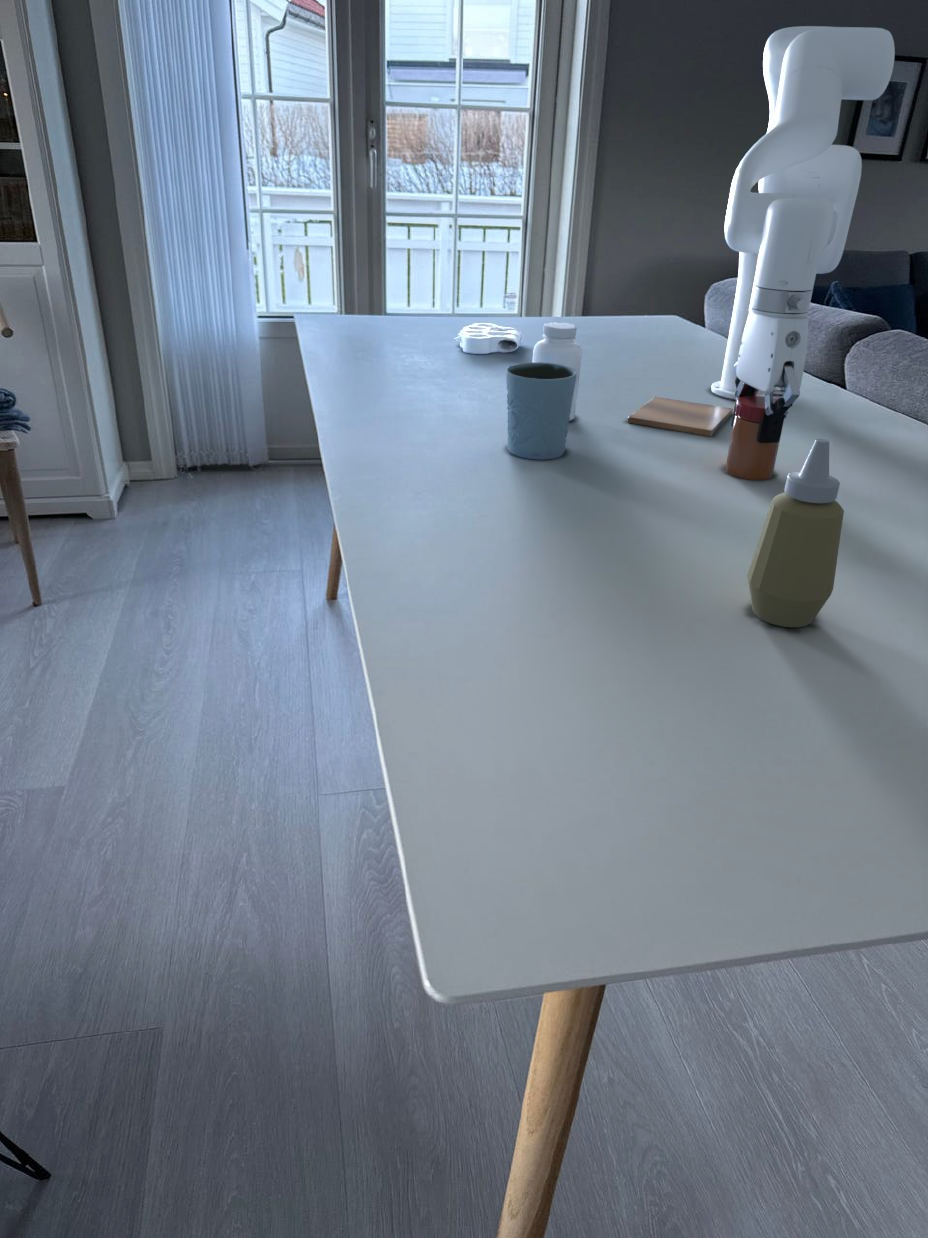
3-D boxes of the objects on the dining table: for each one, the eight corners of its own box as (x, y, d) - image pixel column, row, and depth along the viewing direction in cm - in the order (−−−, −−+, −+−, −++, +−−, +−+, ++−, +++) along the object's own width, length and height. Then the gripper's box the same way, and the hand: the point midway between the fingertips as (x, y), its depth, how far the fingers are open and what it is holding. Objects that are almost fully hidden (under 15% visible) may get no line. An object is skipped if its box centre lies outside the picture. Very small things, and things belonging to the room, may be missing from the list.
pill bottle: (573, 425, 148) (582, 331, 141) (524, 420, 149) (531, 327, 142) (577, 412, 155) (586, 322, 148) (531, 408, 156) (538, 318, 149)
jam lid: (749, 422, 122) (752, 409, 121) (725, 408, 128) (727, 396, 127) (795, 421, 124) (798, 408, 123) (769, 407, 130) (772, 395, 129)
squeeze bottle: (729, 597, 93) (762, 426, 85) (804, 596, 94) (844, 427, 86) (758, 635, 86) (798, 453, 78) (838, 634, 87) (887, 454, 78)
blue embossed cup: (575, 446, 138) (583, 366, 132) (560, 465, 129) (567, 381, 124) (512, 437, 140) (517, 359, 135) (493, 455, 132) (497, 373, 126)
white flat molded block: (515, 356, 193) (448, 352, 194) (523, 340, 208) (461, 336, 210) (516, 340, 191) (449, 336, 193) (524, 325, 207) (461, 321, 208)
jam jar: (730, 461, 134) (742, 397, 129) (776, 469, 131) (789, 404, 127) (720, 474, 128) (732, 407, 124) (767, 482, 126) (781, 415, 121)
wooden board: (654, 402, 163) (655, 396, 163) (732, 413, 158) (733, 408, 157) (627, 422, 150) (628, 416, 150) (710, 436, 145) (711, 430, 145)
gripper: (843, 313, 112) (811, 452, 120) (772, 292, 127) (748, 417, 135) (788, 313, 110) (760, 454, 119) (723, 291, 125) (702, 418, 134)
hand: (754, 433), depth 127 cm, fingers closed on jam lid, 6 cm apart
